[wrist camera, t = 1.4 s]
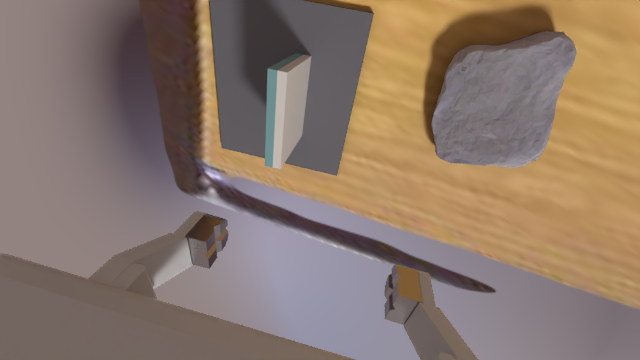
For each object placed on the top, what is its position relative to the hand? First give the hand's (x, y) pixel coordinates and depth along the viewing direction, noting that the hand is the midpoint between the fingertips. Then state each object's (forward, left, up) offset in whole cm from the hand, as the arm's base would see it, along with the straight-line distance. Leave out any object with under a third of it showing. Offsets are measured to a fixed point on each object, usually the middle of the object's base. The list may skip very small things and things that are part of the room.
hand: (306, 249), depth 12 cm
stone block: (-3, +13, -21) cm, 25 cm away
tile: (0, -6, -20) cm, 21 cm away
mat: (0, -8, -21) cm, 22 cm away
